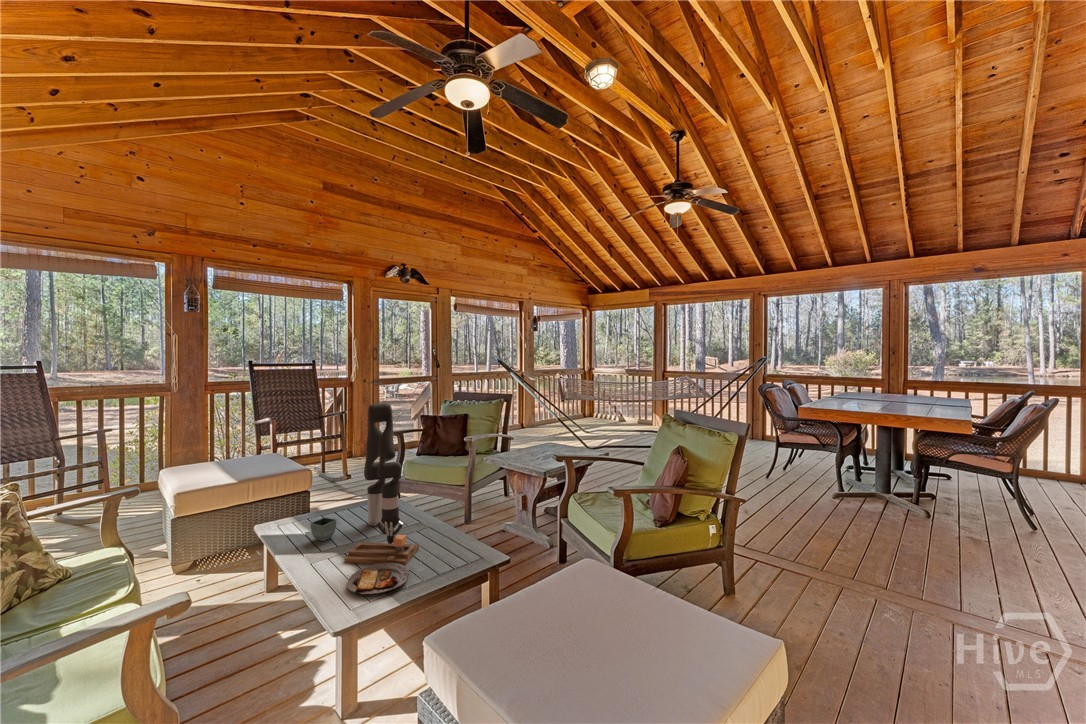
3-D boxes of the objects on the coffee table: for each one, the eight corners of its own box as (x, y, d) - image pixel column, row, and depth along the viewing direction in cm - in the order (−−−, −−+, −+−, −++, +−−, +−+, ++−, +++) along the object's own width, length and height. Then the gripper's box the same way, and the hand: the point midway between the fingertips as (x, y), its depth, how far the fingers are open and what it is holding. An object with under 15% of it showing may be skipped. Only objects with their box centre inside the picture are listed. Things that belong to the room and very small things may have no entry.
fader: (398, 549, 205) (397, 534, 205) (406, 549, 205) (406, 535, 205) (393, 553, 201) (393, 538, 200) (402, 554, 200) (401, 539, 200)
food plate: (403, 595, 170) (403, 586, 170) (339, 602, 167) (339, 593, 167) (412, 565, 195) (412, 558, 195) (356, 571, 191) (356, 563, 191)
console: (363, 546, 213) (362, 539, 213) (418, 548, 210) (418, 541, 210) (344, 562, 197) (344, 554, 197) (404, 565, 194) (404, 557, 194)
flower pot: (309, 541, 219) (309, 523, 219) (324, 534, 227) (324, 517, 227) (322, 544, 216) (322, 525, 216) (337, 536, 224) (337, 519, 224)
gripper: (407, 503, 205) (407, 540, 206) (380, 502, 207) (380, 538, 207) (400, 509, 198) (401, 547, 199) (372, 508, 199) (373, 546, 200)
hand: (390, 543), depth 203 cm, fingers closed
